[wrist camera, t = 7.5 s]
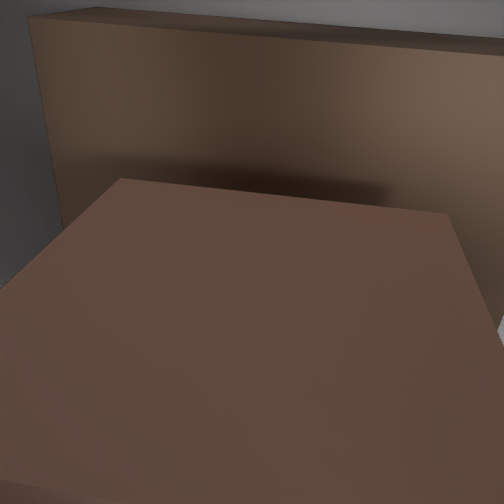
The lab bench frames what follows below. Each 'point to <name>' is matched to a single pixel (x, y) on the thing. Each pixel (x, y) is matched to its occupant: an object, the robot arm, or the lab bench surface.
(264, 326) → the terracotta cube
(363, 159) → the walnut block
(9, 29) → the lab bench surface
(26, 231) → the lab bench surface
